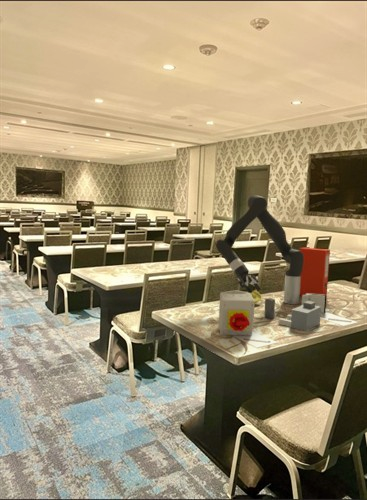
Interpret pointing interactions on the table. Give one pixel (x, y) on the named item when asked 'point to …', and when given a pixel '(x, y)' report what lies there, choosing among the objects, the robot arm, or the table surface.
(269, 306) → the dark grey tube
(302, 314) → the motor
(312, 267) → the file binder
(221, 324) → the electrical switch box
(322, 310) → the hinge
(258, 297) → the plastic component
